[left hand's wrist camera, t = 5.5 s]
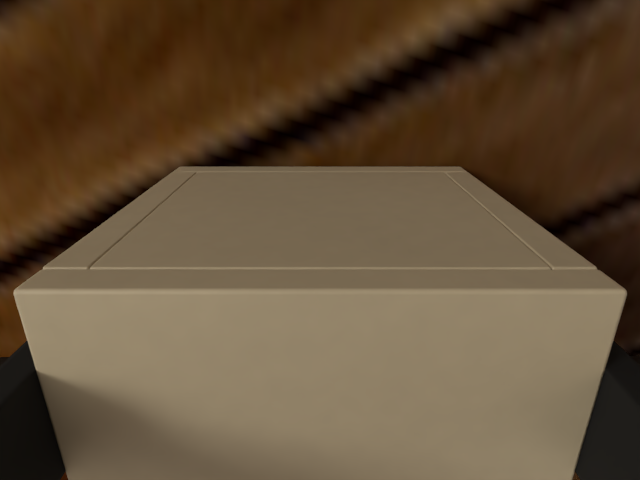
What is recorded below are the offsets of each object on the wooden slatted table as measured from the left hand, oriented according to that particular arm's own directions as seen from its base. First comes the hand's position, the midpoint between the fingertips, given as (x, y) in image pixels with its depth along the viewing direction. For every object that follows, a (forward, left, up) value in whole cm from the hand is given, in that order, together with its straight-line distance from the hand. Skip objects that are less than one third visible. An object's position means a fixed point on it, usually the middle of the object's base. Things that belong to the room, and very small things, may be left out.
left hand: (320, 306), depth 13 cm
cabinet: (+2, +5, -5) cm, 8 cm away
